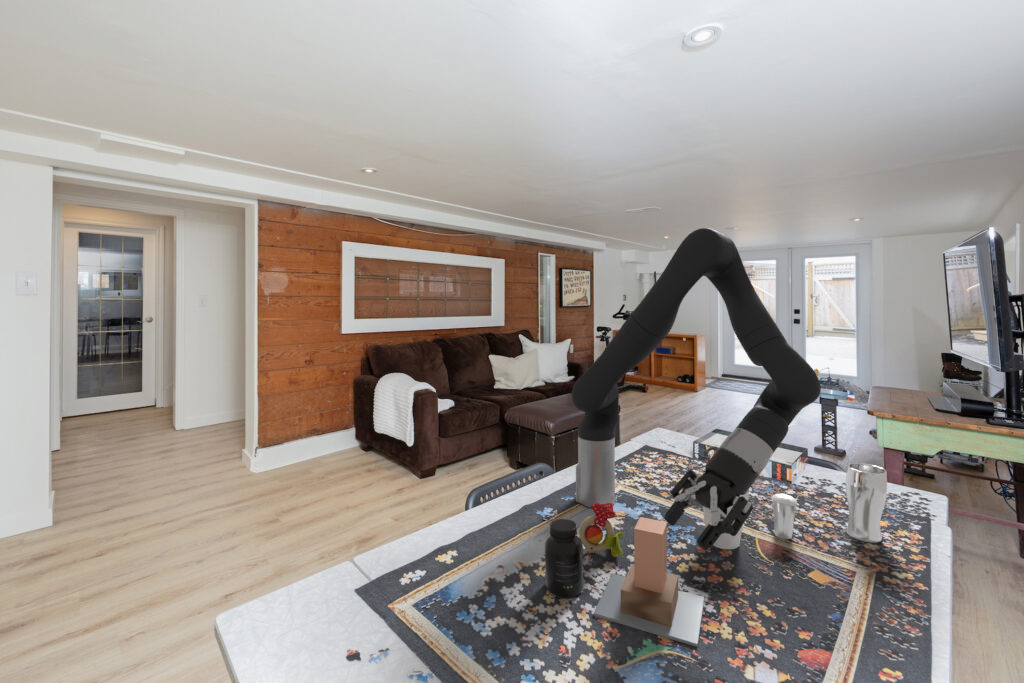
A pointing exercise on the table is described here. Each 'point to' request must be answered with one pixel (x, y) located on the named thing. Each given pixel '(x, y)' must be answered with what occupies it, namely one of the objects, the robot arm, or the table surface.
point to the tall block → (650, 554)
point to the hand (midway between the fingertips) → (683, 534)
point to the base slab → (650, 600)
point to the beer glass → (865, 500)
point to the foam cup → (724, 539)
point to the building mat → (682, 625)
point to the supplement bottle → (564, 559)
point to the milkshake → (784, 514)
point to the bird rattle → (600, 530)
